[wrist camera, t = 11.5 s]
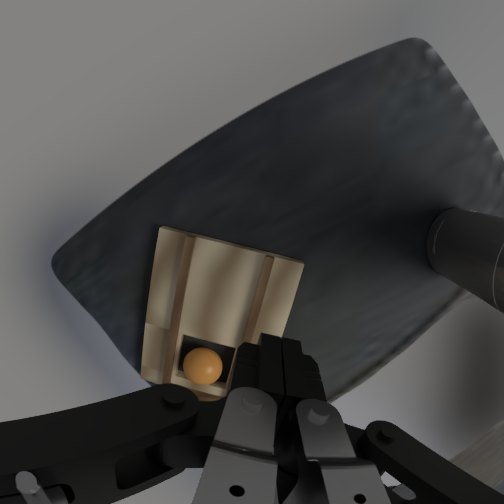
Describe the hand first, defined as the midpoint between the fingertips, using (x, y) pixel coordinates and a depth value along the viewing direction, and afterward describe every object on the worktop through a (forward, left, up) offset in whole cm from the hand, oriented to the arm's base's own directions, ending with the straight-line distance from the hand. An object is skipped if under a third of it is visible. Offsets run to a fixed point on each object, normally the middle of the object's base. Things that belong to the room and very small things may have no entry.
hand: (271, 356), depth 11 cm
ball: (+4, +17, -22) cm, 29 cm away
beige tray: (+4, +12, -25) cm, 28 cm away
